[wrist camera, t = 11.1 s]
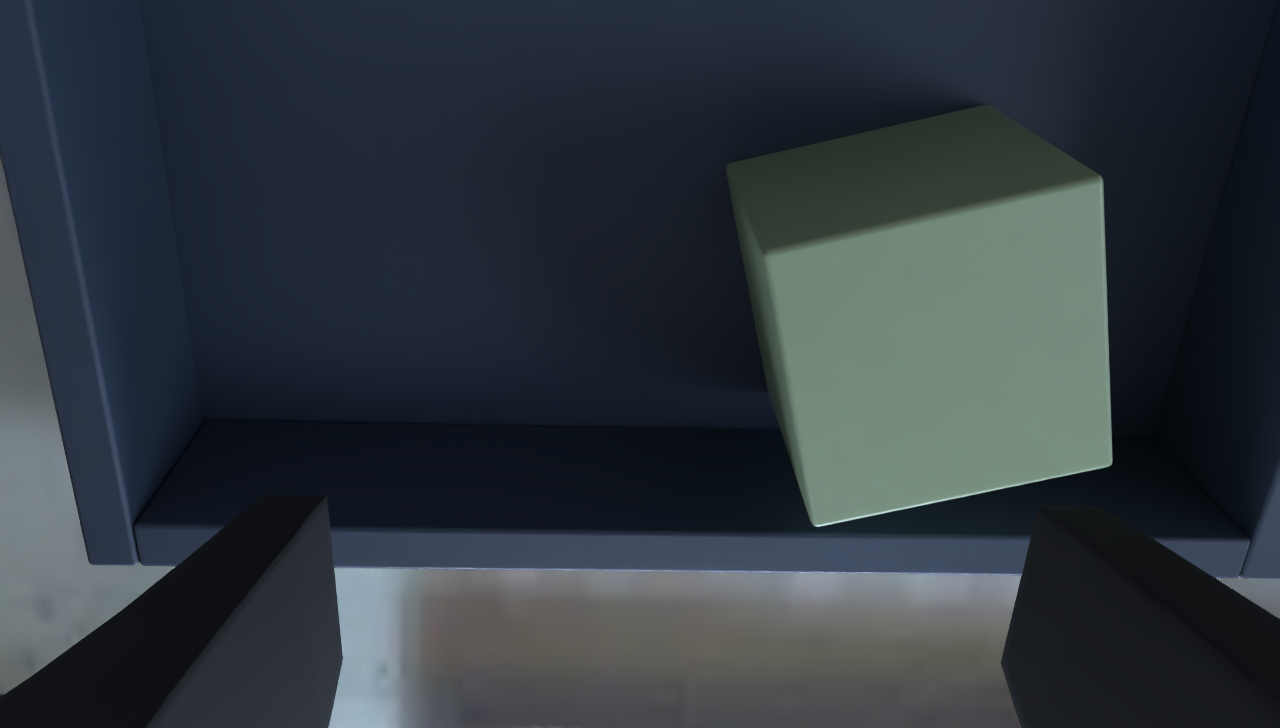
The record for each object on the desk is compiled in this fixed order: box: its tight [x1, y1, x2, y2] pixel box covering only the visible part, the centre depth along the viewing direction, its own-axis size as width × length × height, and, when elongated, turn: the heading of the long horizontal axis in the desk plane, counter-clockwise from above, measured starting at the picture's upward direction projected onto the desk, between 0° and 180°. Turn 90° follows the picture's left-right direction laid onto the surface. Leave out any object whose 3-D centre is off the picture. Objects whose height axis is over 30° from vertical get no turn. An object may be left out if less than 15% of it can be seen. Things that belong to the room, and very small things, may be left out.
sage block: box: [726, 105, 1113, 527], centre depth 17 cm, size 4×4×4 cm
